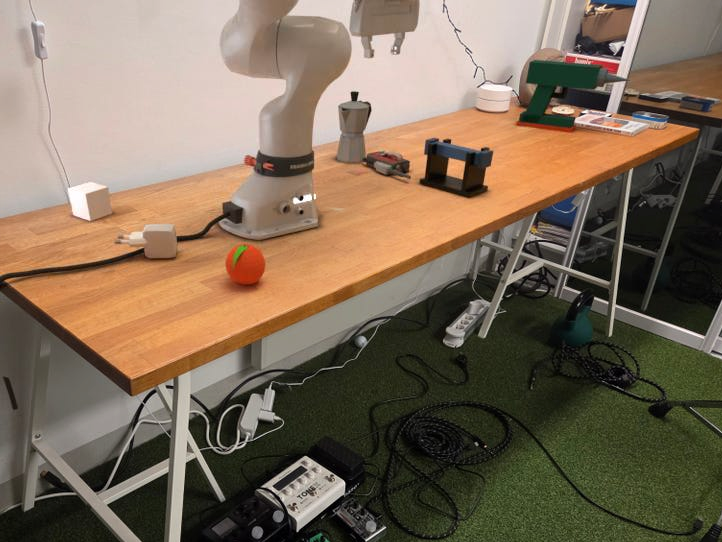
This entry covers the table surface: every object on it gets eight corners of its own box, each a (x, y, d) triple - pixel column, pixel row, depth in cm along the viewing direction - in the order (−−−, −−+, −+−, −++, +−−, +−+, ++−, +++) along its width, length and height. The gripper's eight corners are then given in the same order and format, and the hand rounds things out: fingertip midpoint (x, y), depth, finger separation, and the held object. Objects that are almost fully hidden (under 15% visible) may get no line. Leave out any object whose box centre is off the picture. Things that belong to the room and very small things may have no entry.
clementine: (253, 296, 103) (251, 258, 99) (216, 289, 105) (213, 251, 101) (272, 277, 109) (271, 240, 105) (237, 271, 111) (235, 234, 107)
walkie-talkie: (355, 165, 169) (406, 183, 155) (356, 149, 166) (408, 166, 153) (379, 160, 173) (430, 177, 160) (380, 144, 171) (432, 160, 157)
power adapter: (116, 261, 114) (111, 231, 111) (121, 251, 119) (116, 222, 115) (176, 260, 115) (172, 230, 112) (178, 250, 119) (175, 221, 116)
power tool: (617, 133, 203) (635, 67, 192) (613, 137, 198) (632, 70, 187) (521, 121, 217) (533, 59, 206) (516, 125, 212) (528, 61, 201)
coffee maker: (351, 166, 168) (355, 96, 158) (325, 161, 172) (327, 92, 162) (379, 155, 178) (384, 89, 168) (354, 150, 182) (358, 85, 172)
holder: (469, 197, 147) (476, 154, 141) (419, 183, 156) (423, 142, 150) (487, 190, 151) (494, 148, 146) (437, 177, 160) (443, 137, 155)
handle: (482, 169, 144) (485, 153, 142) (423, 154, 154) (425, 139, 152) (490, 166, 146) (493, 150, 144) (432, 152, 156) (434, 137, 154)
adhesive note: (73, 215, 135) (67, 188, 132) (95, 207, 139) (90, 181, 136) (90, 221, 132) (85, 193, 129) (112, 213, 136) (108, 186, 133)
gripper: (366, -12, 126) (362, 61, 133) (426, -14, 138) (419, 53, 145) (344, -13, 130) (341, 58, 137) (404, -15, 141) (398, 51, 149)
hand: (382, 56), depth 141 cm, fingers open, 8 cm apart
